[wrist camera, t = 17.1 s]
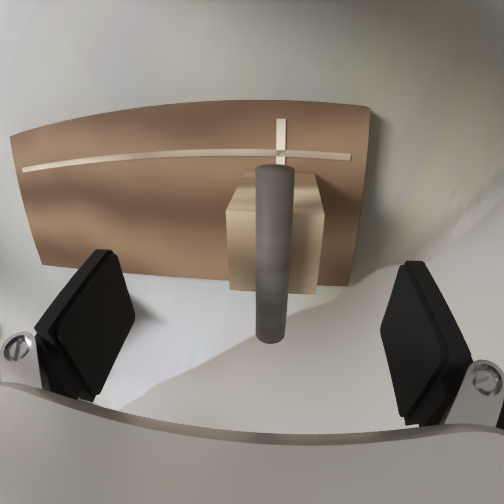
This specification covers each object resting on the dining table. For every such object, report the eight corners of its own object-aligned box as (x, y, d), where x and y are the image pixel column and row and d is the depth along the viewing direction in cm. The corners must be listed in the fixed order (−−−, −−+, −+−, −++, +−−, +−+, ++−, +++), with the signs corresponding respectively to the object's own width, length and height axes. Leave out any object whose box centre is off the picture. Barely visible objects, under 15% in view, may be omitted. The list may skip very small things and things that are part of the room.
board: (21, 132, 19) (9, 137, 18) (364, 106, 16) (370, 108, 15) (51, 256, 25) (41, 265, 24) (345, 274, 22) (348, 287, 21)
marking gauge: (244, 137, 17) (215, 173, 11) (316, 139, 16) (333, 177, 10) (246, 259, 21) (227, 340, 15) (307, 262, 20) (311, 345, 14)
